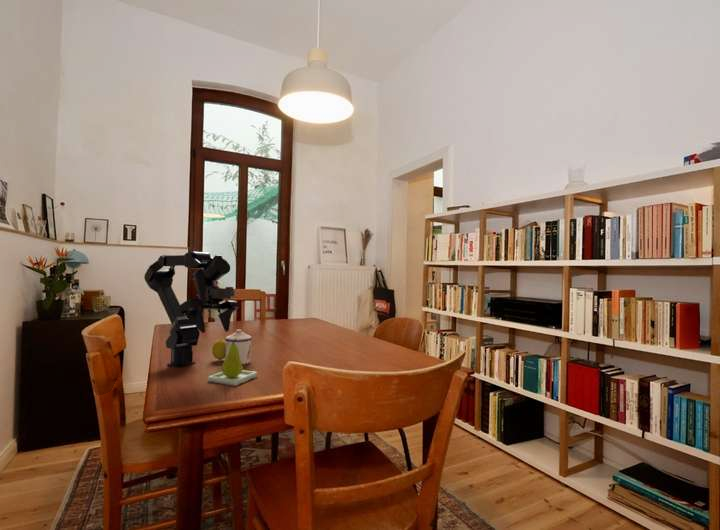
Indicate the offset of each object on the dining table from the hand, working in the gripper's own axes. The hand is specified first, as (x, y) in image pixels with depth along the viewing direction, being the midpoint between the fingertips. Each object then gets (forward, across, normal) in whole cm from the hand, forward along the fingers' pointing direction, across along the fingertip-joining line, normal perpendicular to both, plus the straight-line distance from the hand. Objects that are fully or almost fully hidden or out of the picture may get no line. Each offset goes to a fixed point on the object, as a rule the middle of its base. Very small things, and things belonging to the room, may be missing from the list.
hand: (215, 331), depth 117 cm
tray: (+16, +2, -1) cm, 16 cm away
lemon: (+6, +15, +17) cm, 23 cm away
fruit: (+15, +1, -1) cm, 15 cm away
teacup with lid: (+8, +17, +12) cm, 22 cm away
